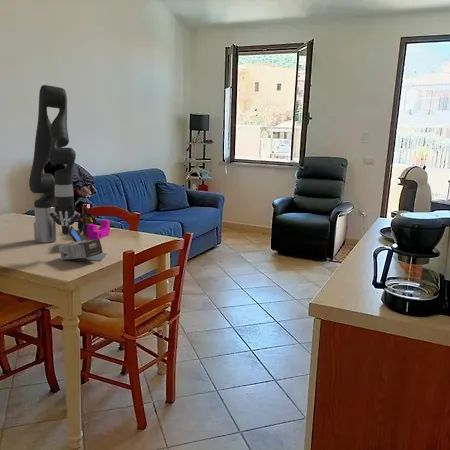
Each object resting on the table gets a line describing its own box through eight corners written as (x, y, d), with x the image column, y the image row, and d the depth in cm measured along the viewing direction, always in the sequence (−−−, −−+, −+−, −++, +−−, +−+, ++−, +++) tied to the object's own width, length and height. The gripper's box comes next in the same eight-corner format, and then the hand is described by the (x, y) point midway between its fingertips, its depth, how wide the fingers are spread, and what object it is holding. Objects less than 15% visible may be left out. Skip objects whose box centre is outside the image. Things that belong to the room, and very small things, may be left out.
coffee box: (74, 241, 195) (100, 238, 187) (77, 255, 196) (103, 252, 188) (57, 246, 187) (84, 243, 180) (61, 260, 188) (87, 258, 180)
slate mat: (72, 260, 188) (72, 259, 188) (80, 253, 199) (80, 252, 199) (100, 261, 189) (100, 260, 189) (107, 254, 200) (107, 253, 199)
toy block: (97, 240, 224) (97, 225, 223) (87, 239, 226) (86, 224, 225) (113, 234, 238) (113, 220, 237) (103, 233, 240) (103, 219, 239)
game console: (99, 250, 207) (99, 231, 205) (68, 251, 203) (68, 232, 201) (100, 242, 221) (99, 224, 219) (71, 243, 218) (70, 225, 216)
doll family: (70, 230, 243) (69, 206, 240) (86, 228, 248) (85, 205, 246) (85, 239, 225) (84, 213, 222) (102, 237, 230) (101, 212, 228)
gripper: (45, 195, 184) (47, 235, 188) (76, 196, 184) (78, 236, 188) (52, 193, 192) (54, 232, 195) (82, 194, 192) (83, 232, 195)
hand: (66, 234), depth 191 cm, fingers closed
